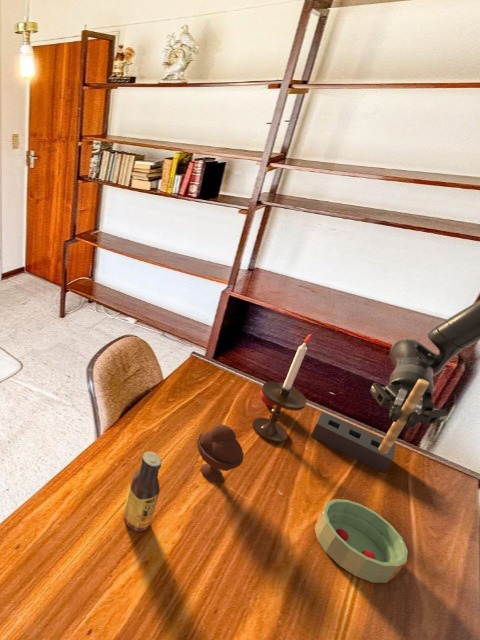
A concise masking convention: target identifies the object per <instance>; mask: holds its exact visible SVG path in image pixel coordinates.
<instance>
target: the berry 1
mask: <svg viewBox="0 0 480 640" xmlns="http://www.w3.org/2000/svg"><path fill="white" fill-rule="evenodd" d="M336 533H337V534H338V535H339V536H340V537H341V538H342V539H343V540H344V541H347V540H348V538H349V536H348V534H347V532H346V531H344V530H343V529H337V530H336Z"/></svg>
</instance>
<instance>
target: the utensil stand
mask: <svg viewBox="0 0 480 640" xmlns="http://www.w3.org/2000/svg"><path fill="white" fill-rule="evenodd" d="M310 437H311V438H314V439H316V440H318V441H320V442H322V443H324V444H326V445H327V446H329V447H331V448H333V449H335V450H337V451H339V452H340V453H341V452H342V453H344V454H345V455H348V456H349V457H352V458H353V459H356V460H357V461H359V462H362V464H363V463H364V464H366V465H367V466H370V467H372V468H374V469H376V470H377V471H380V472H381V473H383V474H386V472H387V471H388V469H389V468H390V466H391V465H392V463H393V461H394V457H395V453H396V447H397V445H396V444H394V443H393V445H392V447H391V448H390V450H389V452H388V453H387V454H384V453H381V452H380V451H379V450H378V448H379V446H380V444H381V443H382V441H383V439H384V438H381V437H379V436H377V435H374V434H372V433H370V432H368V431H366V430H364V429H362V428H360V427H356V426H355V425H354V424H353V425H352V424H350V423H349V422H346V421H344V420H342V419H340V418H337V417H336V416H334V415H331V414H328V413H326V412H325V411H321V413H320V415H319V417H318V419H317V421H316V423H315V425H314V428H313V429H312V432H311V434H310Z"/></svg>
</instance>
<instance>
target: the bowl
mask: <svg viewBox="0 0 480 640" xmlns="http://www.w3.org/2000/svg"><path fill="white" fill-rule="evenodd" d="M337 529H343V530H344V531H346V532H347V534H348V536H349V538H348V540H347V541H344V540H343V539H342V538H341V537H340V536H339V535H338V534H337V533H336V530H337ZM314 532H315V535H316V539H317V541H318V543H319V545H320V546H321V547H322V549H323V550H324V552H325V553H326V555H328V556H329V557H330V558H331V559H332V560H333V561H334V562H335V563H336V564H337V565H338V566H340V567H341V568H342V569H343V570H345V571H347V572H348V573H350V574H352V575H353V576H355V577H357V578H359V579H362V580H365V581H367V582H370V583H376V584H377V583H378V584H387V583H388V582H390V581H391V580H393V579H394V578H395V577H396V576H397V575H398V573H399V572H400V571H401V570H402V568H403V567H404V565H405V564H406V563H407V561H408V554H409V550H408V547H407V545H406V543H405V541H404V539H403V537H402V536H401V535H400V533H399V532H398V531H397V530H396V528H395V527H394V526H393V525H392V524H391V523H390V522H389V521H387V520H386V519H385V518H383V517H382V516H381V515H380V514H379V513H377V512H376V511H374V510H372V509H370V508H369V507H366V506H365V505H363V504H361V503H358V502H355V501H352V500H349V499H338V498H334V499H332V500H330V501H328V502H326V503H325V505H324V506H323V508H322V509H321V512H320V513H319V515H318V517H317V519H316V521H315V525H314ZM364 550H367V551H370V552H372V553H373V554H374V556H375V558H376V560H375V559H372V558H369V557H367V556H365V555H363V554H362V551H364Z"/></svg>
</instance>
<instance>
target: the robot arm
mask: <svg viewBox="0 0 480 640" xmlns="http://www.w3.org/2000/svg"><path fill="white" fill-rule="evenodd" d="M427 338H428V339H429V341H430V342H431V343H432V344H433V345H434V346H435V347H436V348H437V349H438V351H437V352H434V351H432V349H429V348H428V347H427V346H425V345H424V344H422V343H421V342H419V341H418V340H417V339H414V338H402V339H399V340H397V341H395V342H394V343H393V344H392V346H391V347H390V348H389V349H390V350H389V359H390V362H391V364H392V367H393V371H392V372H391V373H390V377H389V378H388V383H387V385H385V386H382V385H381V384H380V383H378V382H373V384H372V385H371V387H370V389H369V393H370V394H371V395H372V397H373V398H374V400H375V401H376V402H377V403H378V404H379V406H380V407H381V408H384V409H386V408H387V409H389V414H388V417H389V418H390V419H391V421H392V422H397V420H398V419H399V417H400V415H401V410H402V407H403V405H404V403H405V402H406V400H407V398H408V397H409V395H410V393H411V391H412V390H413V388H414V386H415V385H416V383H417V381H418V379H423V380H426V381H428V382H429V385H428V387H427V389H426V390H425V392H424V394H423V395H422V397H421V399H420V400H419V402H418V404H417V405H416V407H415V409H414V410H413V412H412V413H411V415H410V417H409V418H408V420H407V422H406V424H405V428H408V429H411V428H413V429H415V428H416V427H417V425H418V424H419V423H420V424H421V425H424V426H428V425H434V424H438V423H443V422H444V421H445V419H446V418H447V417H448V415H449V414H450V412H449V411H448V410H447V409H444V408H441V409H439V408H437V407H435V403H434V402H433V394H434V377H435V376H437V375H438V374H439V373H440V372H441V371H442V370H443V369H444V368H445V367H446V365H447V364H448V363H449V362H451V360H452V359H453V358H454V357H456V356H457V355H458V354H459V353H460V352H462V351H463V350H465V349H467V348H468V347H470V346H472V345H474V344H476V343H477V342H479V341H480V299H479V300H478V301H476V302H474V303H473V304H471V305H469V306H468V307H465V308H464V309H462V310H460V311H458V312H457V313H455V314H454V315H452V316H450V317H449V318H447V319H445V320H444V321H443V322H441V323H439V324H438V325H436V326H434V327H433V328H431V329H430V330H429V331H428V332H427Z"/></svg>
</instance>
